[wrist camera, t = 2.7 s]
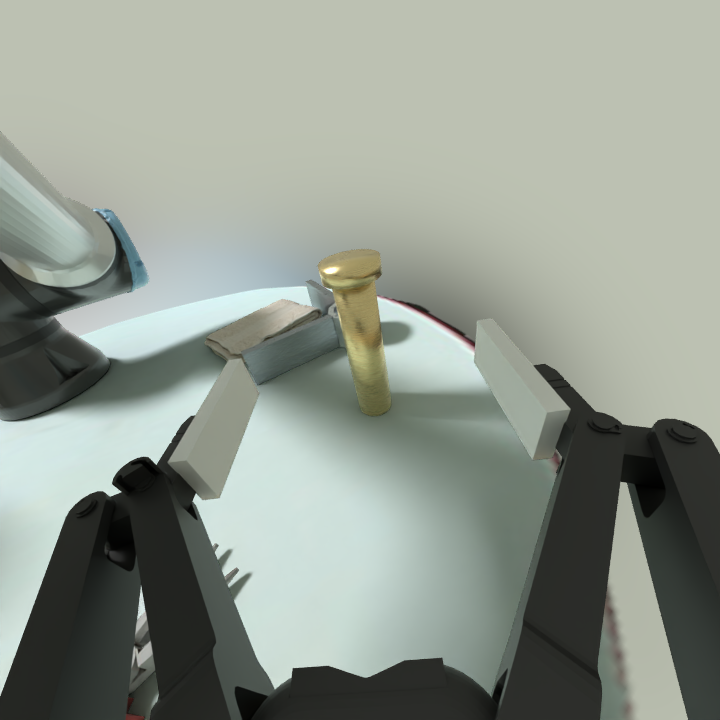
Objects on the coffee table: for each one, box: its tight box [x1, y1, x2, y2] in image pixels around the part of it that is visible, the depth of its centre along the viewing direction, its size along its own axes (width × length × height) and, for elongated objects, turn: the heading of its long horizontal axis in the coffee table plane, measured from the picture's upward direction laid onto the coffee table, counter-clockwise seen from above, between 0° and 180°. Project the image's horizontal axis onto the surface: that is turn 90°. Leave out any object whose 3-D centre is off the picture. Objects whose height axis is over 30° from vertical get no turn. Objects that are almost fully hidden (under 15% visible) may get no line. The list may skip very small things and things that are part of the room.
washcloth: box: [204, 299, 322, 363], centre depth 50 cm, size 12×18×3 cm, turn 138°
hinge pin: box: [318, 249, 391, 416], centre depth 27 cm, size 5×5×16 cm
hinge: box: [241, 280, 346, 385], centre depth 46 cm, size 20×20×5 cm
